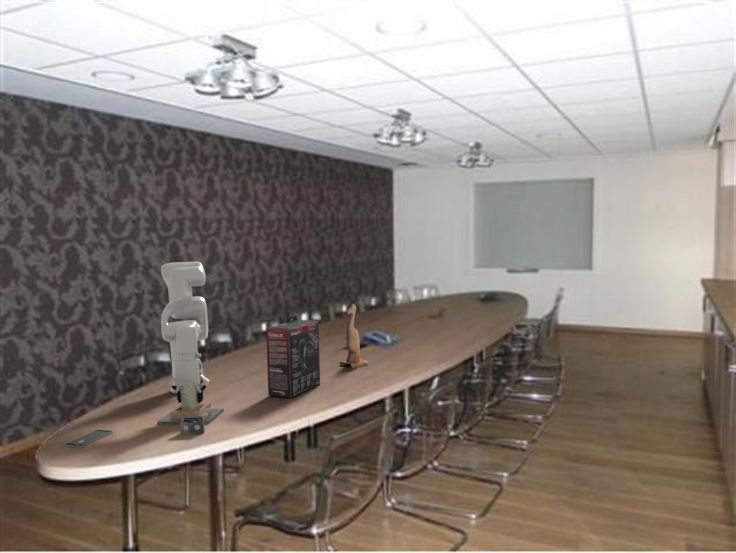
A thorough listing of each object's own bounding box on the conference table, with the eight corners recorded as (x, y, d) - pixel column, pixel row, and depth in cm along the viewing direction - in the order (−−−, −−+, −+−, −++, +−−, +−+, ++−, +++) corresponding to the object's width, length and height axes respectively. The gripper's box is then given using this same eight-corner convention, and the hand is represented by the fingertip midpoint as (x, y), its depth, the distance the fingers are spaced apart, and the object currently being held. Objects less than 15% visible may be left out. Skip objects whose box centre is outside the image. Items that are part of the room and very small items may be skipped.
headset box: (298, 382, 282) (295, 312, 280) (322, 384, 277) (319, 312, 274) (267, 396, 260) (263, 320, 258) (292, 399, 255) (288, 321, 252)
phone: (97, 432, 223) (62, 447, 208) (97, 429, 223) (62, 444, 207) (114, 433, 220) (80, 449, 205) (114, 430, 220) (80, 446, 205)
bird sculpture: (338, 366, 315) (334, 305, 312) (355, 361, 323) (351, 301, 320) (352, 369, 307) (348, 306, 304) (369, 364, 315) (366, 303, 311)
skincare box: (201, 411, 235) (199, 380, 234) (192, 414, 231) (190, 382, 230) (190, 409, 238) (188, 378, 237) (180, 412, 235) (178, 381, 234)
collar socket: (175, 411, 244) (174, 401, 244) (223, 411, 241) (223, 401, 241) (157, 424, 228) (156, 413, 228) (208, 423, 226) (208, 413, 225)
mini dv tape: (204, 432, 217) (203, 415, 216) (203, 433, 215) (202, 417, 215) (181, 432, 217) (180, 416, 216) (180, 434, 215) (179, 417, 215)
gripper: (213, 354, 236) (215, 399, 237) (170, 354, 238) (173, 399, 239) (205, 358, 228) (208, 404, 230) (161, 359, 230) (164, 405, 232)
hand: (190, 401), depth 234 cm, fingers closed on skincare box, 7 cm apart
